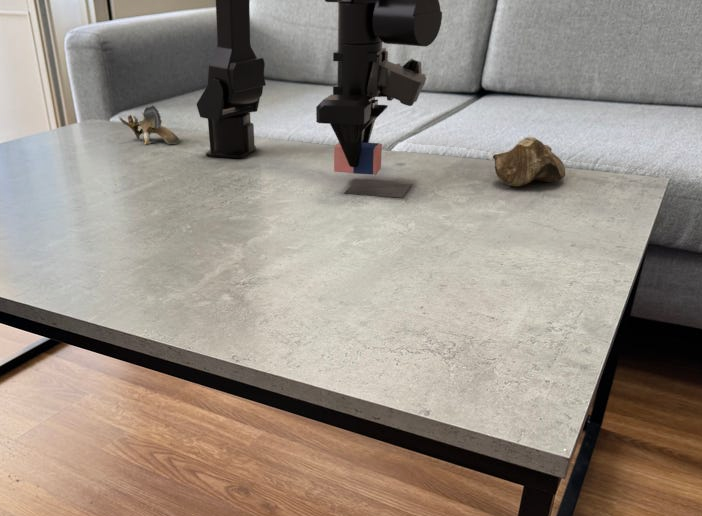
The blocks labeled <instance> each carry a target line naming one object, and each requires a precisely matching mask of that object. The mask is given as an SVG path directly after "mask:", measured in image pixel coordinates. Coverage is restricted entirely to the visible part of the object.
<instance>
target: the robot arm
mask: <svg viewBox="0 0 702 516" xmlns="http://www.w3.org/2000/svg"><path fill="white" fill-rule="evenodd" d="M324 1H325V2H326V3H337V50H336V51H333V54H332V61H333V62H337V83H336V84H335V85H333V86H332V94H330V95H328V96H327V97H325V98H323V99H322V101H320V102H319V103H318V105H317V106H316V107H315V109H316V111H315V112H316V117H315V118H316V123H317V124H324V125H325V124H327V125H330V127H331V129H332V131H333V132H334V135H335V137H336V139H337V140H338V143H340V145H341V147H342V150H343V152H344V154H345V157H346V159H347V161H348V163H349V166H350V167H357V166H358V164H359V159H360V154H361V148H362V143H363V142H365V143H370V139H371V136H372V133H373V130H374V126H375V122H376V120H377V118H378V117H380V115H381V114H383V113H384V112H385V111H386V110H387V109H388V107H389V105H388V104H379V99H376V98H386V100H387V101H390V102H392V101H393V100H396V101H399V102H400V104H402V105H405V106H408V107H412V106H413V105H414V103H416V102H417V101H418V99H419V96H420V94H421V92H422V89H423V87H424V85H425V82H426V80H427V76H426V74H425V73H423V72H422V71H423V70H422V61H419V60H416V59H414V58H410V59H408V61H407V62H405V63H404V64H403V65H401V64H400V63H394V62H391V61H389V59H388V57H389V52H388V50H387V48H386V47H383V43H384V44H387V45H396V46H397V45H399V46H400V45H401V46H411V47H412V46H413V47H429V46H430V45H432V43H434V42H435V40H436V38H437V37H438V35H439V32H440V30H441V26H442V21H443V12H442V11H441V5H440V1H439V0H324ZM250 9H251V8H250V0H215V14H216V15H215V17H216V41H217V45H216V49H215V51H214V53H213V55H212V58H211V60H210V62H209V63H208V73H207V84H206V85H207V86H206V87H205V89H204V90H203V92H202V93H201V96H200V97H199V99H198V101H197V102H196V108H197V112H198V114H199V117H200V118H201V119H207V126H208V138H209V150H208V151H207V152H205V155H206V157H216V158H228V159H229V158H230V159H231V158H232V159H243V158H244V157H247V156H248V155H249V154H251V153H252V152H254V151H255V150H257V146H256V145H255V127H254V125H255V124H254V123H253V122H251V113H257V112H258V110H259V105H260V99H261V97H262V95H263V90H264V87H266V85H267V84H266V80H265V67H266V66H265V65H266V63H265V60H264V58H263V57H257V54H256V53H255V51H254V49H253V48H252V46H251V45H252V44H251V15H250V14H251V13H250Z"/></svg>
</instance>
